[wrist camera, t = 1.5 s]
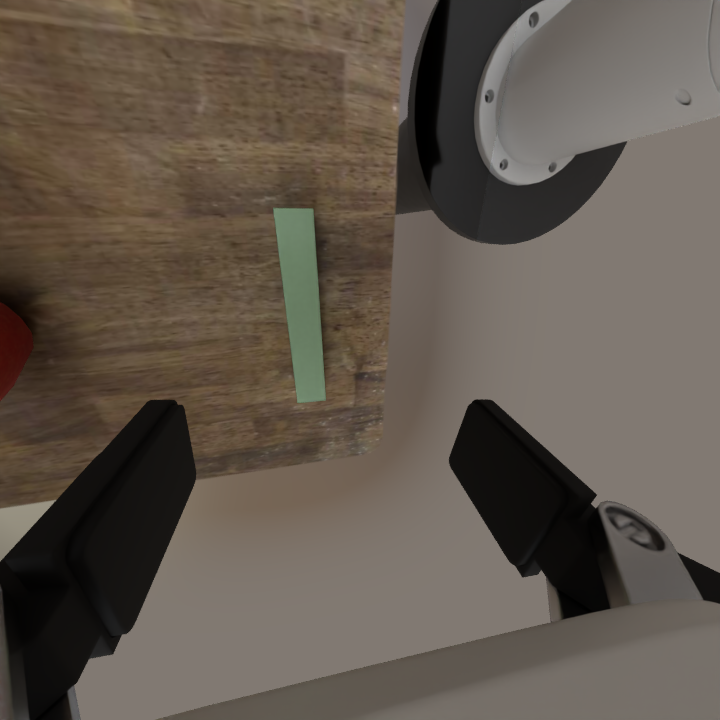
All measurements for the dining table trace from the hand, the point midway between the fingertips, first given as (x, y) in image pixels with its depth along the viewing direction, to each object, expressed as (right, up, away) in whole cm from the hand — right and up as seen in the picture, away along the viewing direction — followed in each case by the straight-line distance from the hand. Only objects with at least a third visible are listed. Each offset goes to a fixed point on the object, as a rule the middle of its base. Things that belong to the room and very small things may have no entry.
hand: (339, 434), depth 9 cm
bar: (-5, +8, +18) cm, 20 cm away
